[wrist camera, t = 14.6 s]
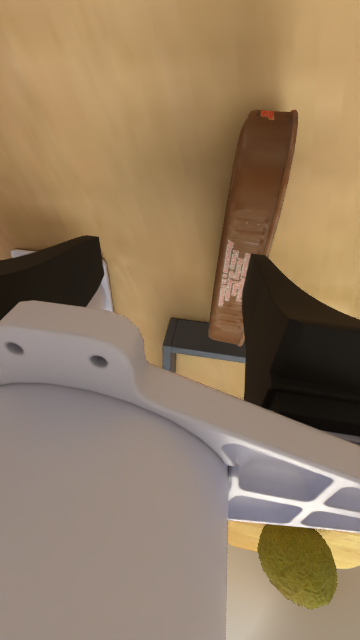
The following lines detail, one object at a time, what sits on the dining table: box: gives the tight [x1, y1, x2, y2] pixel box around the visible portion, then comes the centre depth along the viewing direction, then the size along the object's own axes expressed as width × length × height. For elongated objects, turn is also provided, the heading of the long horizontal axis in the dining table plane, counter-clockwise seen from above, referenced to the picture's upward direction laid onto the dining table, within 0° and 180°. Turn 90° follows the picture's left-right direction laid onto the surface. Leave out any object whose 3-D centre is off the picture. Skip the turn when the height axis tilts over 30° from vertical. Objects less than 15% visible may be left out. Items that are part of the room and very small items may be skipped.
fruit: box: [257, 524, 338, 609], centre depth 58 cm, size 16×14×15 cm
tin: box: [208, 110, 298, 347], centre depth 18 cm, size 15×3×8 cm, turn 177°
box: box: [163, 318, 246, 373], centre depth 33 cm, size 14×20×4 cm
